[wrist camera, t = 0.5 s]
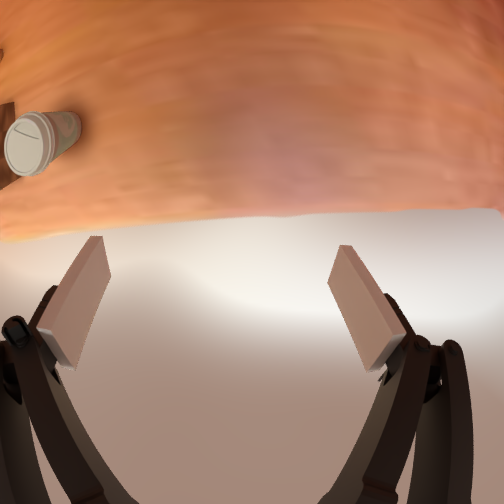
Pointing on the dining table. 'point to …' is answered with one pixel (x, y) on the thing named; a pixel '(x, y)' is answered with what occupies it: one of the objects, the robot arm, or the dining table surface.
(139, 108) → the dining table surface
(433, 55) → the dining table surface
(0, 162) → the bore block
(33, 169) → the coffee cup
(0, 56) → the dowel
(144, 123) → the dining table surface
